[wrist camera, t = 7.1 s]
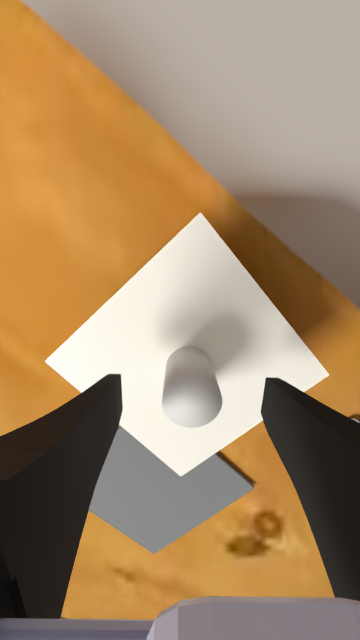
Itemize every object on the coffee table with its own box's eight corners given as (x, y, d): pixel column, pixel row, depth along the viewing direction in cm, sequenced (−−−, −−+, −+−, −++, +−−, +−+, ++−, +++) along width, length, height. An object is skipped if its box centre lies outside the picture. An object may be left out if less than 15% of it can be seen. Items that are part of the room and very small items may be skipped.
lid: (323, 370, 15) (374, 410, 11) (180, 469, 18) (181, 531, 14) (199, 214, 12) (209, 195, 9) (49, 357, 15) (3, 394, 11)
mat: (253, 484, 24) (254, 488, 24) (154, 549, 27) (154, 554, 27) (153, 397, 21) (153, 400, 21) (54, 481, 24) (51, 485, 23)
